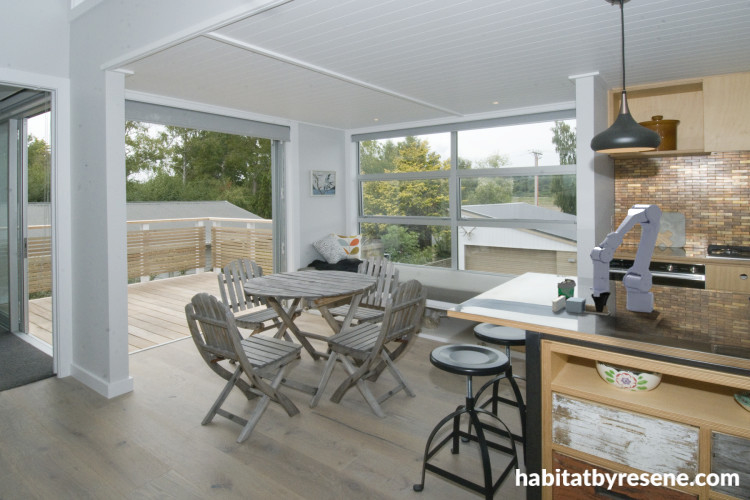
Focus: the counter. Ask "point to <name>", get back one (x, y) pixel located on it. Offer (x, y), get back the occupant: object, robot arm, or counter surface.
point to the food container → (566, 288)
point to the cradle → (596, 313)
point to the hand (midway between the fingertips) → (600, 310)
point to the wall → (558, 303)
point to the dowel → (592, 308)
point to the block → (575, 304)
